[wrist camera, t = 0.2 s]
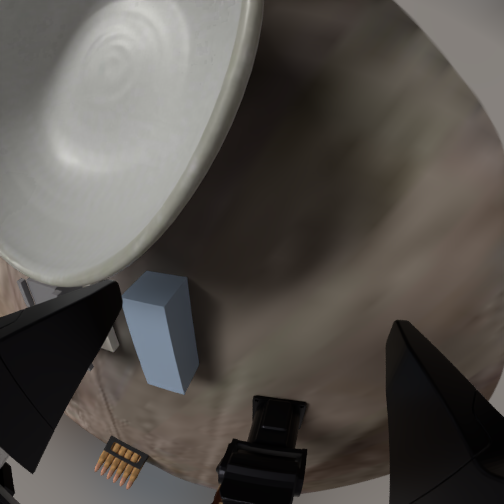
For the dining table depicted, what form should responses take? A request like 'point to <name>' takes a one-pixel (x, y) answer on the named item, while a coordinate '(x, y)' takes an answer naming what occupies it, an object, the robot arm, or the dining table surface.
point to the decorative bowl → (111, 124)
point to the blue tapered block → (162, 329)
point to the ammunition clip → (112, 450)
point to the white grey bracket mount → (48, 292)
